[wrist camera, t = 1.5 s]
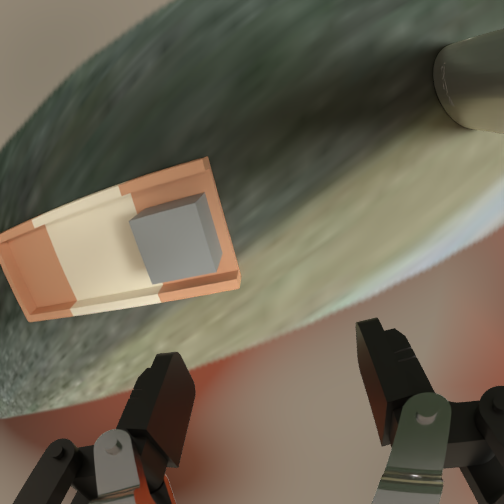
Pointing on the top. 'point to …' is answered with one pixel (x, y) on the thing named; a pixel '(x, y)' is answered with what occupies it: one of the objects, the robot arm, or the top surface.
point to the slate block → (177, 239)
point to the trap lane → (108, 249)
